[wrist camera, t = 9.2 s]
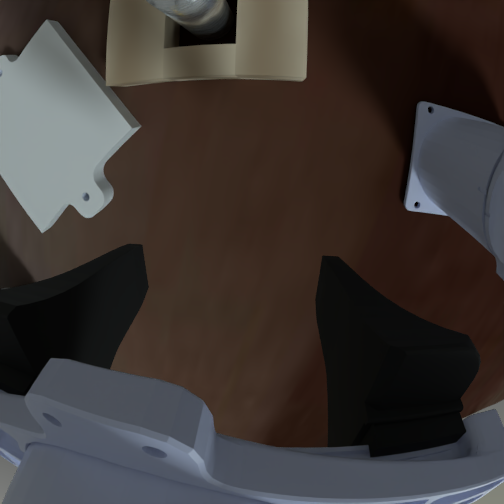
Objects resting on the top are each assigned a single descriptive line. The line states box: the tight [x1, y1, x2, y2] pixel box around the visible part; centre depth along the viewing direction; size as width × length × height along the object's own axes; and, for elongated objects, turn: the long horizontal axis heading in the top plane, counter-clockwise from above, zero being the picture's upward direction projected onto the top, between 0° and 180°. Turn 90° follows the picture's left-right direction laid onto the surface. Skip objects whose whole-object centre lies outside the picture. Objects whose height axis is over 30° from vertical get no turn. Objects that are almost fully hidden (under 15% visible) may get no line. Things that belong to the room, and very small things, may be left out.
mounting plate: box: [0, 19, 141, 233], centre depth 19 cm, size 18×13×2 cm
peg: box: [146, 0, 234, 40], centre depth 12 cm, size 3×3×8 cm
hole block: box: [106, 0, 308, 86], centre depth 15 cm, size 12×8×3 cm, turn 88°
